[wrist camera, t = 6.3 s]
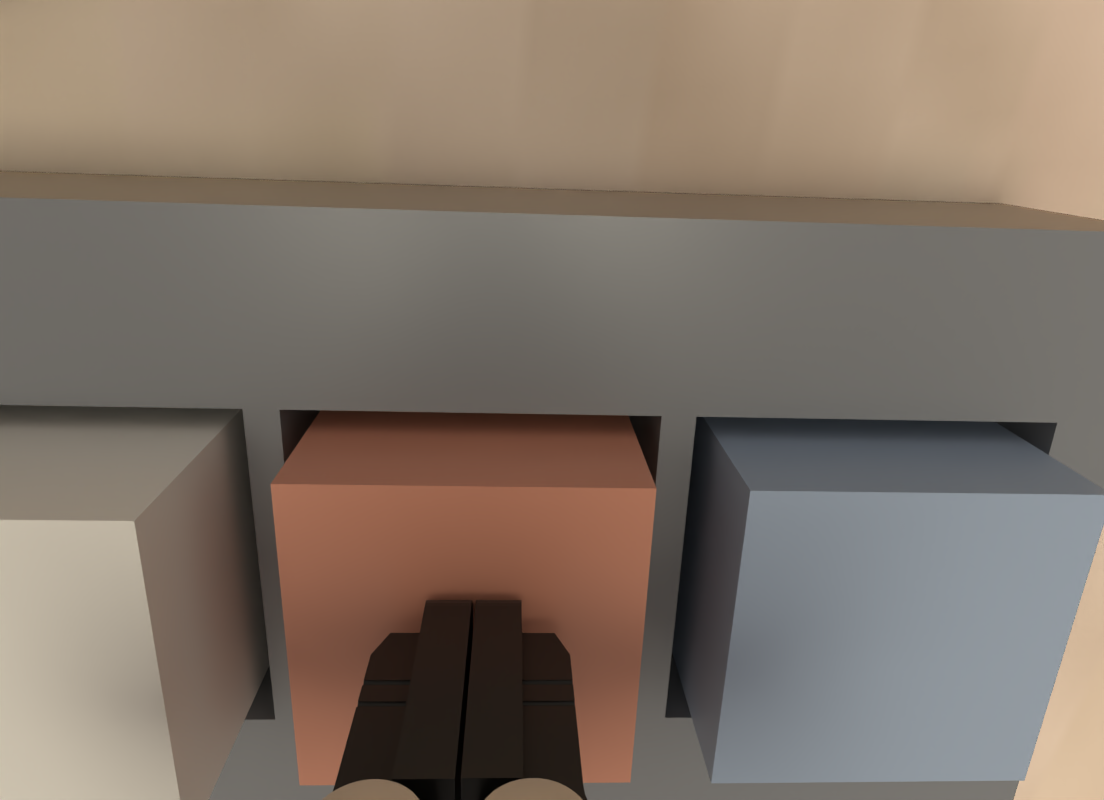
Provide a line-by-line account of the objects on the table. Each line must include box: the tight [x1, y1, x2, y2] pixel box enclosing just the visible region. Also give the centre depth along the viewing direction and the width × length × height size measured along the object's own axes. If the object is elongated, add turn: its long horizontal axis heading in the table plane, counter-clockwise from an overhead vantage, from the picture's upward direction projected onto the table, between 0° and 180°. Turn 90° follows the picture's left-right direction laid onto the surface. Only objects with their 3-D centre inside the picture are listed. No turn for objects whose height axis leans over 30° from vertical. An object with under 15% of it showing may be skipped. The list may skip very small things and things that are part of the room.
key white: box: [0, 405, 270, 800], centre depth 13 cm, size 6×6×4 cm
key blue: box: [672, 417, 1104, 783], centre depth 15 cm, size 6×6×4 cm
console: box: [0, 171, 1104, 800], centre depth 16 cm, size 23×13×5 cm, turn 88°
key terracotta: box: [271, 410, 656, 785], centre depth 14 cm, size 6×6×4 cm
